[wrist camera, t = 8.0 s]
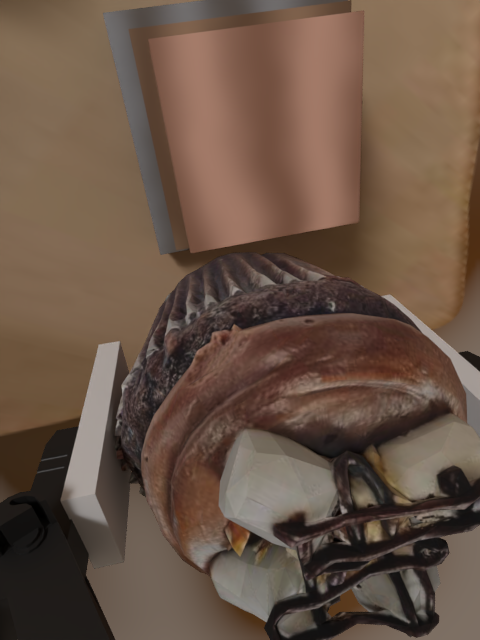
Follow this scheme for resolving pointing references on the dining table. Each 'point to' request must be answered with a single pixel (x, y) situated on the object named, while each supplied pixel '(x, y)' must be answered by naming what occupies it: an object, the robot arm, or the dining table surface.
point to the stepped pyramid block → (243, 116)
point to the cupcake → (301, 445)
